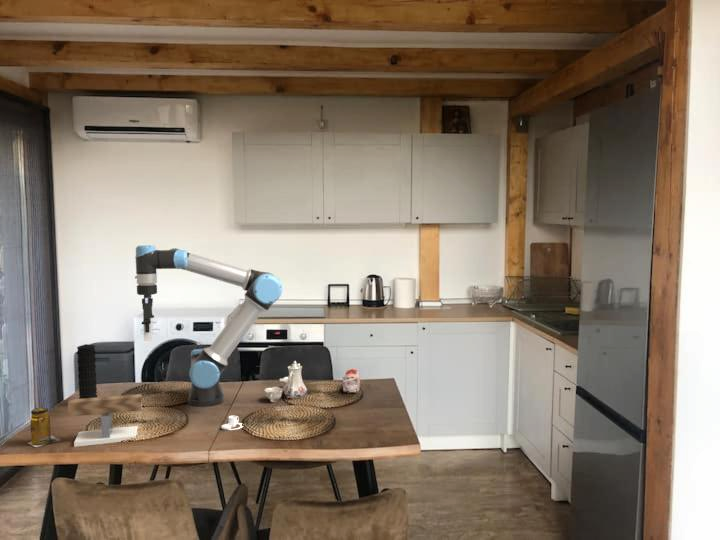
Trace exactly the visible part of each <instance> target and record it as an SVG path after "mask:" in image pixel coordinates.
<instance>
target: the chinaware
mask: <svg viewBox="0 0 720 540" xmlns="http://www.w3.org/2000/svg"><path fill="white" fill-rule="evenodd" d="M287 368H288V369H287V371H288V376H285V377H281V378H279V379H278V380H279V381H280V384H281V386H282V387H279V386H273V387H266V388H264V390H263V392H264V393H265V396H266V398H267V399H268V400H270V402H271V403H277V402H278V400H280V399H281V397H282V394H284V395H285V397H286V396H289V397H300V396H303V395H307V393H308V389H307V386H306V384H305V383H304V381H303V378H302V368H303V366H302V365H301V363H300V362H299V363H297V361H296V360H294V361H293V363H292V364H290V365H289V366H287Z"/></svg>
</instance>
